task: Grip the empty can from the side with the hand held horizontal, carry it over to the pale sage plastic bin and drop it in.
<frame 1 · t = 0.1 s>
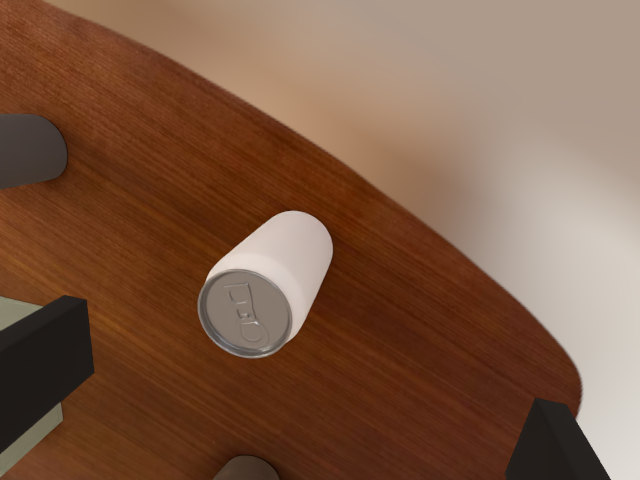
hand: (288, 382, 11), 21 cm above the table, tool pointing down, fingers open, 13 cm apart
flower pot: (254, 473, 42), on the table
can: (297, 245, 32), on the table
bottle: (42, 147, 34), on the table
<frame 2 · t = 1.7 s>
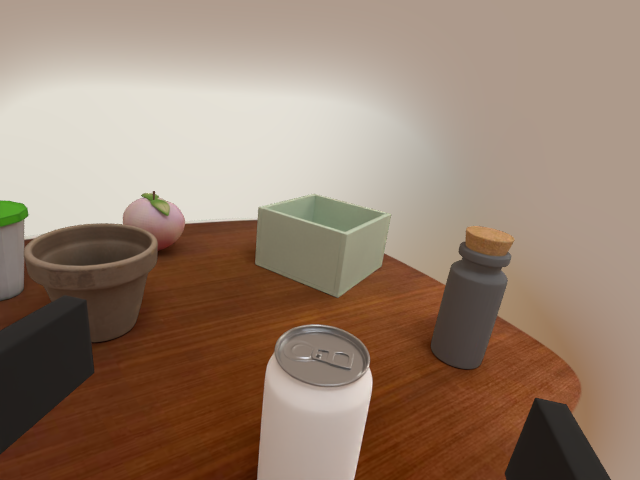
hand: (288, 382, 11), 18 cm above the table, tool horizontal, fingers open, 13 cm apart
flower pot: (104, 328, 41), on the table
decorative fruit: (154, 252, 60), on the table
bin: (320, 265, 63), on the table
bottle: (455, 354, 44), on the table
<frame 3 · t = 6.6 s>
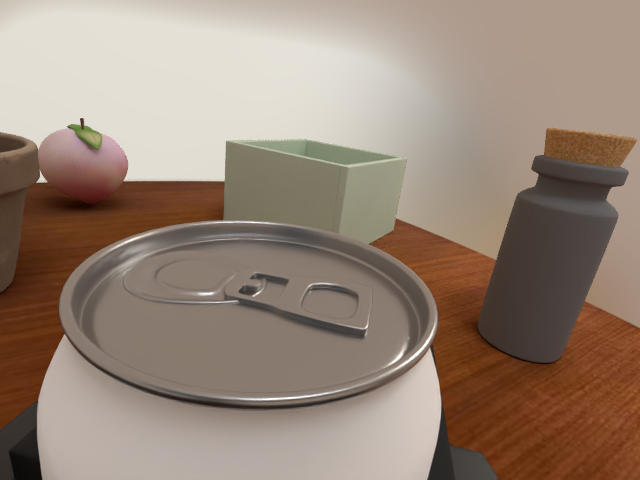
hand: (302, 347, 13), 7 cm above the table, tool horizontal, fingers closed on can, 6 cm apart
decorative fruit: (87, 206, 45), on the table
bin: (313, 226, 47), on the table
bottle: (516, 340, 28), on the table
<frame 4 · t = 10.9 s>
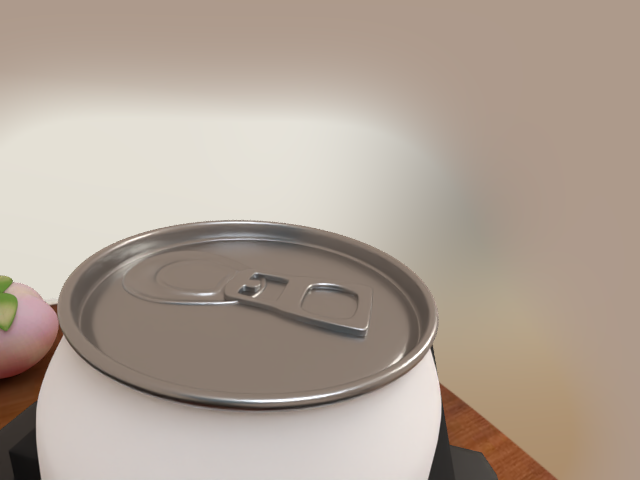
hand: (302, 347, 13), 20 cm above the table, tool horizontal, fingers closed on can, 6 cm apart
decorative fruit: (7, 376, 36), on the table
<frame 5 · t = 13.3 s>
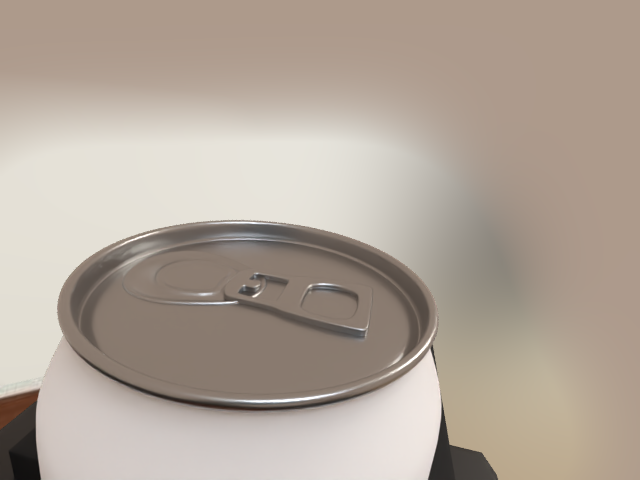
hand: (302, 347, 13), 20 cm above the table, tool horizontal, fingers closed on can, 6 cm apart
when the fingers open (16 cm above the table, at t = 15.5 s): can drops 8 cm, resting on bin.
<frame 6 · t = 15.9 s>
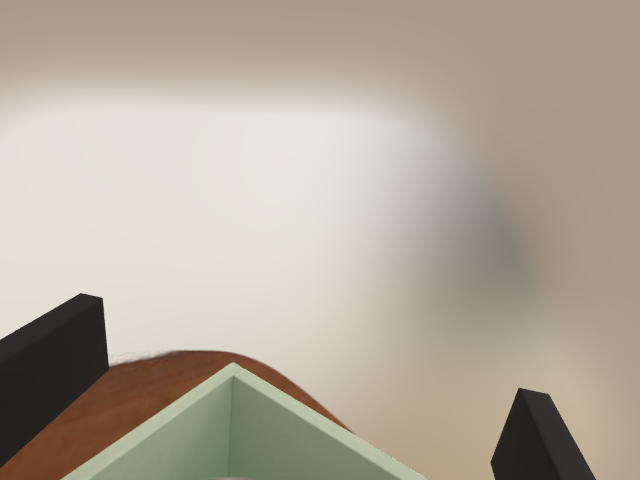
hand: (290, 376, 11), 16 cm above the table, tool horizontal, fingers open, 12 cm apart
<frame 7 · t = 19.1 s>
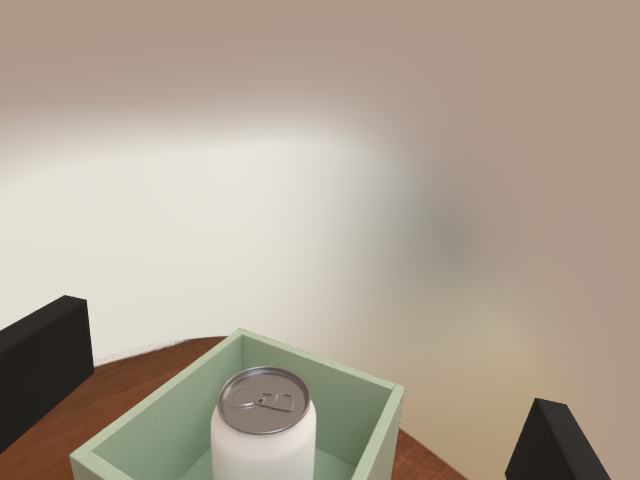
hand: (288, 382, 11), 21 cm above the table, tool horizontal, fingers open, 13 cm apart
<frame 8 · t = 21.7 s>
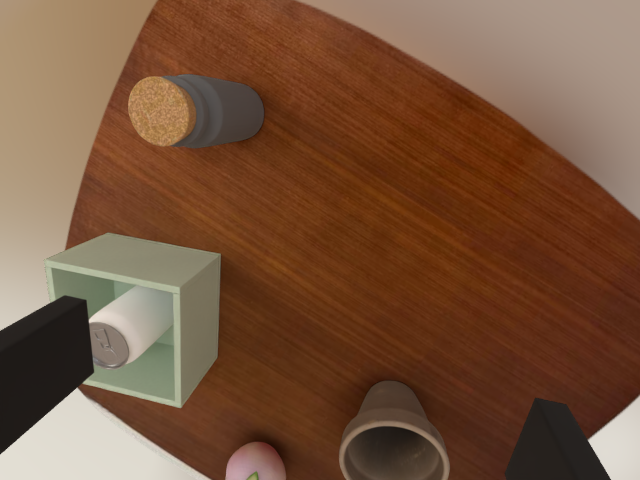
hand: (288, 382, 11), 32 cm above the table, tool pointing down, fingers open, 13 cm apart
flower pot: (392, 397, 49), on the table
decorative fruit: (267, 446, 56), on the table
bin: (164, 296, 50), on the table
can: (170, 292, 49), resting on bin
bottle: (239, 112, 41), on the table
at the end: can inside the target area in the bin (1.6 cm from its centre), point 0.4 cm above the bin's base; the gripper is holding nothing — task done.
